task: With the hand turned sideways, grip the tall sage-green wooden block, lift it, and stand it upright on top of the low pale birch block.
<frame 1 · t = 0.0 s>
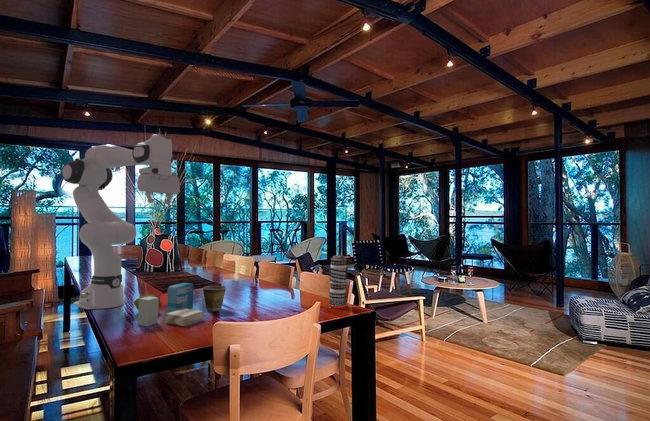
hand: (159, 203, 161), 48 cm above the table, tool pointing down, fingers open, 8 cm apart
lemon: (147, 313, 160), on the table
sage block: (147, 323, 145), on the table
birch block: (184, 322, 149), on the table
blue rounded box: (180, 311, 164), on the table
ceramic cup: (212, 309, 171), on the table
decorative candle: (337, 306, 182), on the table
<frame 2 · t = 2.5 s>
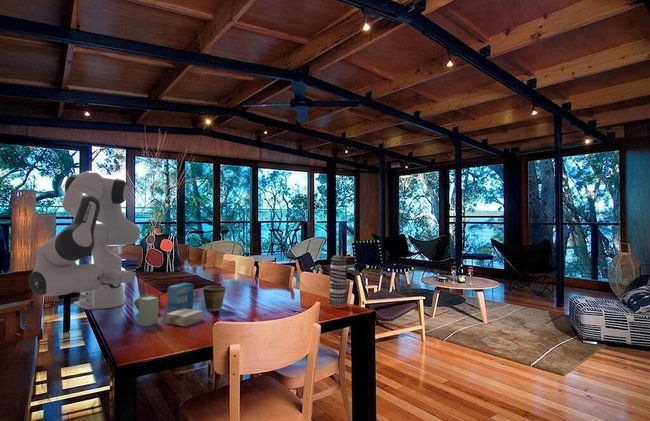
hand: (124, 273, 135), 21 cm above the table, tool horizontal, fingers open, 8 cm apart
nothing on the table moved.
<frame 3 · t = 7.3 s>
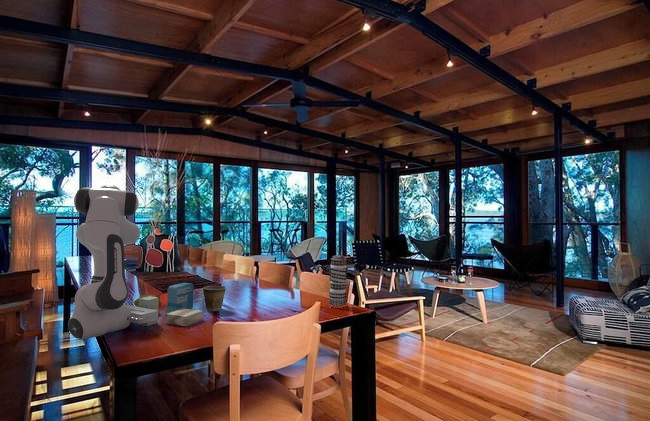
hand: (150, 308, 146), 6 cm above the table, tool horizontal, fingers closed on sage block, 5 cm apart
sage block: (147, 323, 145), on the table, touching gripper
everything else where it was.
when the fingers open (11 cm above the table, at t = 12.1 s): sage block drops 2 cm, resting on birch block.
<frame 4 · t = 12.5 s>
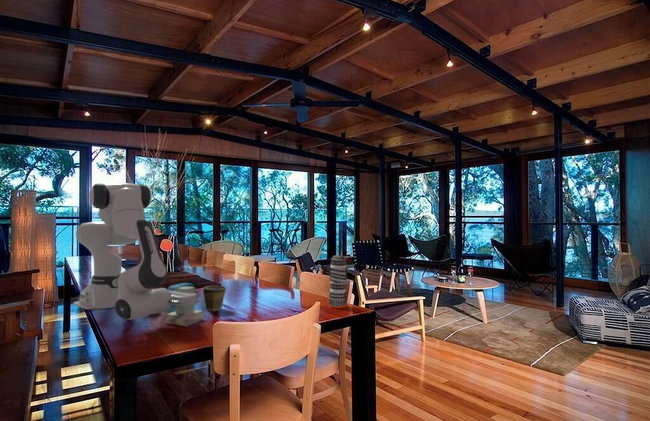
hand: (186, 293, 150), 11 cm above the table, tool horizontal, fingers open, 8 cm apart
sage block: (184, 312, 149), point 4 cm above the table, touching birch block
birch block: (184, 322, 149), on the table, touching sage block
everything else where it was.
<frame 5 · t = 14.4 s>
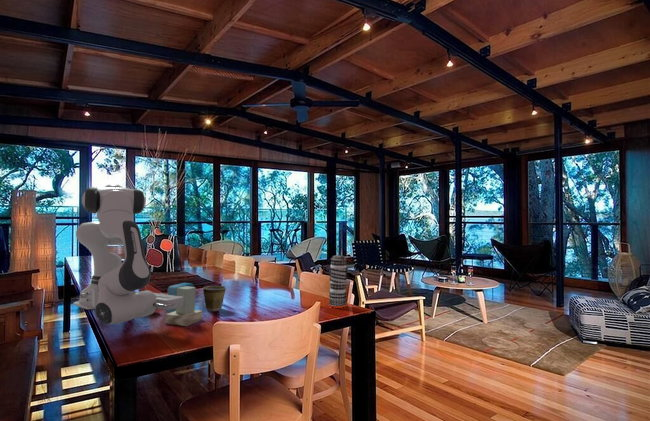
hand: (173, 296, 144), 11 cm above the table, tool horizontal, fingers open, 8 cm apart
nothing on the table moved.
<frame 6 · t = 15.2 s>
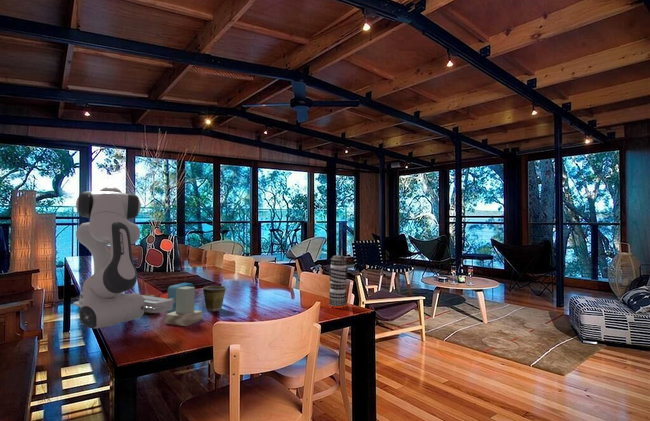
hand: (163, 299, 139), 11 cm above the table, tool horizontal, fingers open, 8 cm apart
sage block: (184, 312, 150), point 4 cm above the table
birch block: (184, 322, 149), on the table
everything else where it was.
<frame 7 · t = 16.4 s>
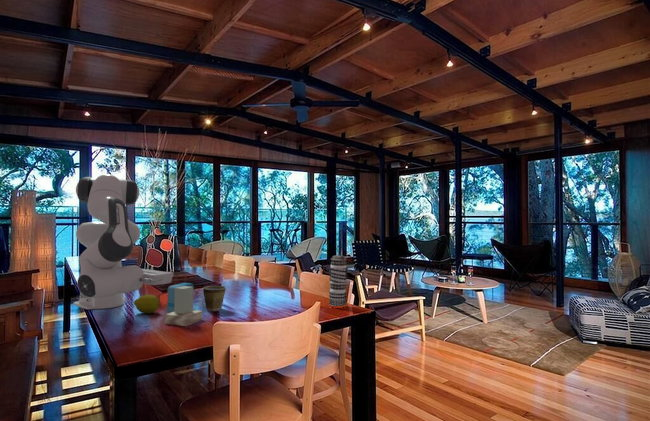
hand: (162, 273, 139), 21 cm above the table, tool horizontal, fingers open, 8 cm apart
sage block: (183, 312, 150), point 4 cm above the table, touching birch block
birch block: (184, 322, 149), on the table, touching sage block
everything else where it was.
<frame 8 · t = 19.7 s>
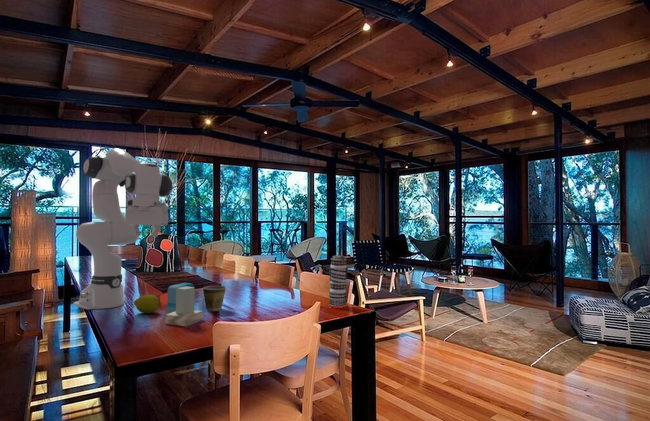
hand: (146, 236, 149), 34 cm above the table, tool pointing down, fingers open, 8 cm apart
at the end: sage block inside the target area on the birch block (0.2 cm from its centre), point 4.0 cm above the birch block's base; sage block tilted 1°; the gripper is holding nothing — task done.
